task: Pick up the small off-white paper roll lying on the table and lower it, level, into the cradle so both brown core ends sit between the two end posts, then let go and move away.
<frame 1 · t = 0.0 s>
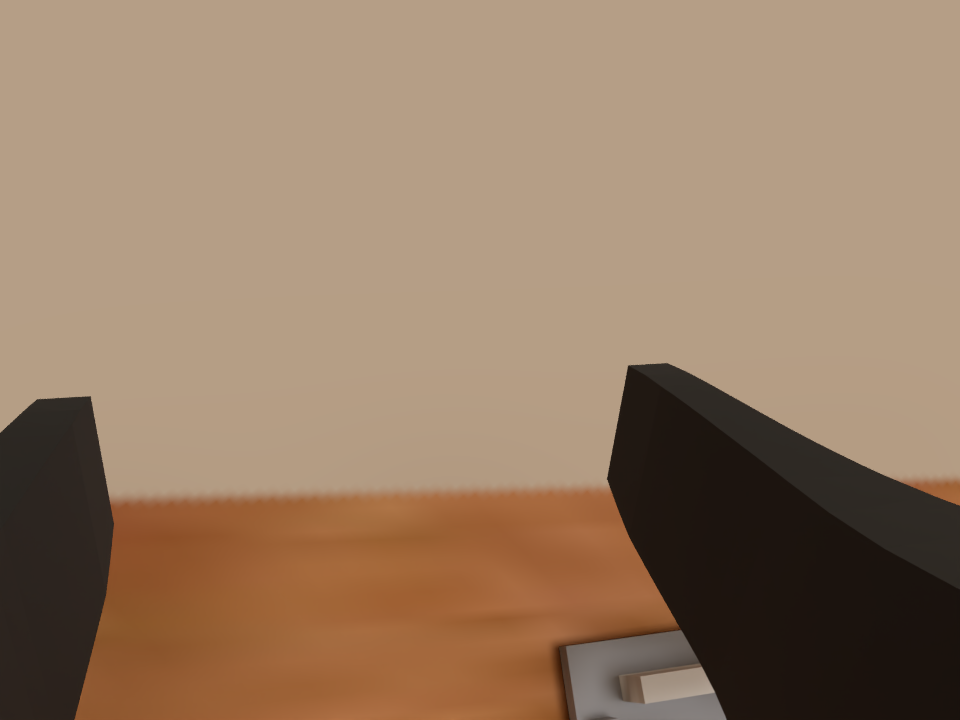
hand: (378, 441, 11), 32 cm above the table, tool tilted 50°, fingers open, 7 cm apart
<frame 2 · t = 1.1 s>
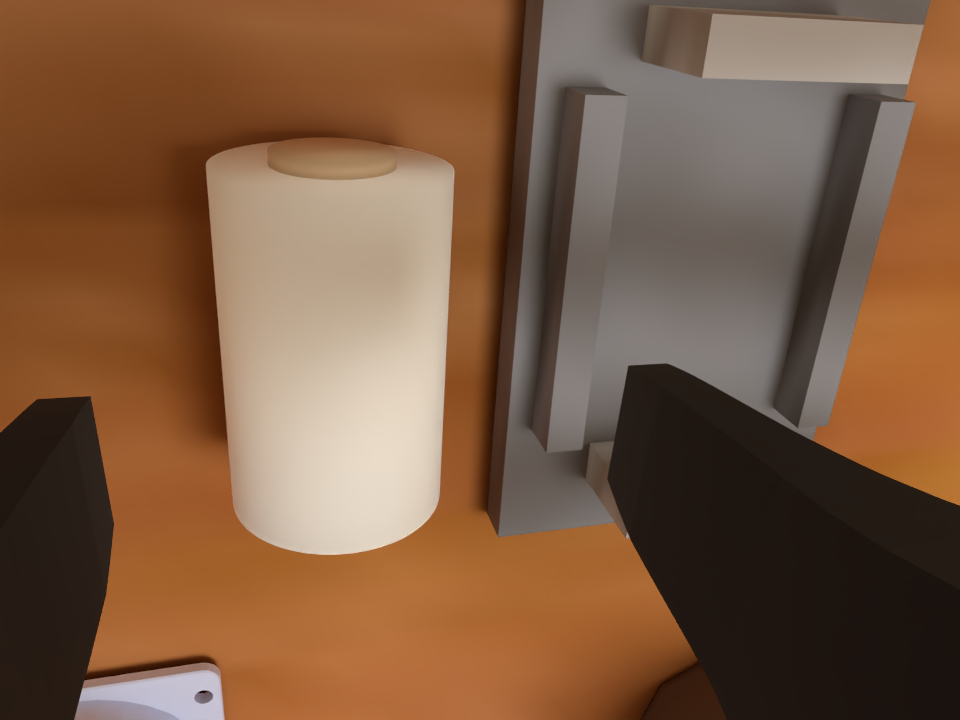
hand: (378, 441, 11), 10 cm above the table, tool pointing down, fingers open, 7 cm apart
beer bottle: (713, 712, 33), on the table
paper roll: (311, 302, 21), on the table, tilted 7°
roll cradle: (679, 253, 23), on the table
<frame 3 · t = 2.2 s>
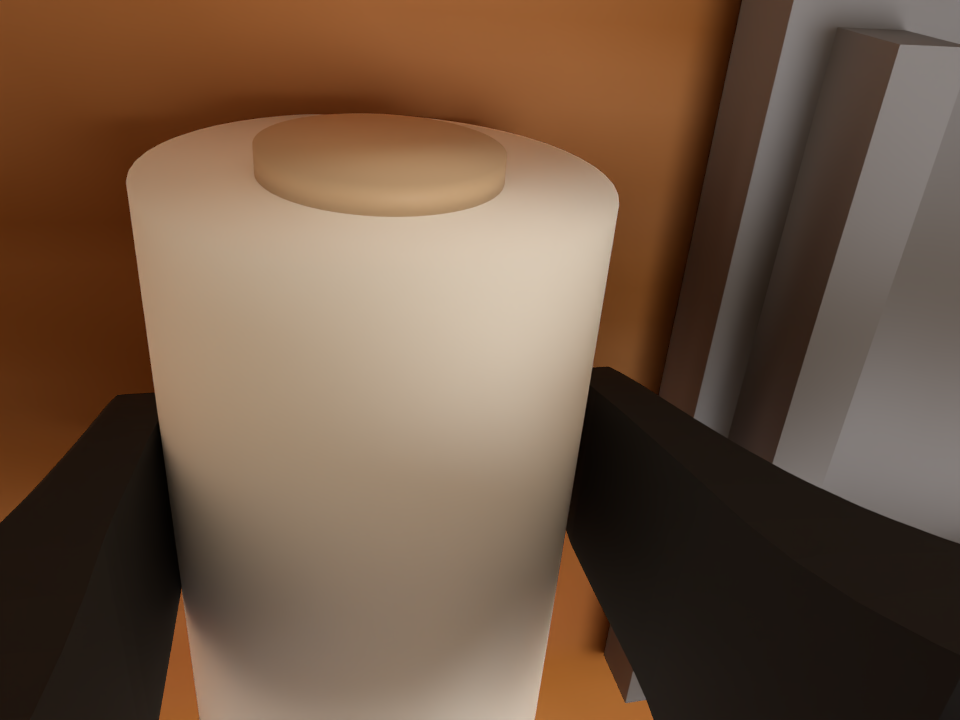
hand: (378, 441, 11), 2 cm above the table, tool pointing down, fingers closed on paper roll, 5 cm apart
paper roll: (359, 376, 13), on the table, touching gripper
roll cradle: (937, 299, 15), on the table
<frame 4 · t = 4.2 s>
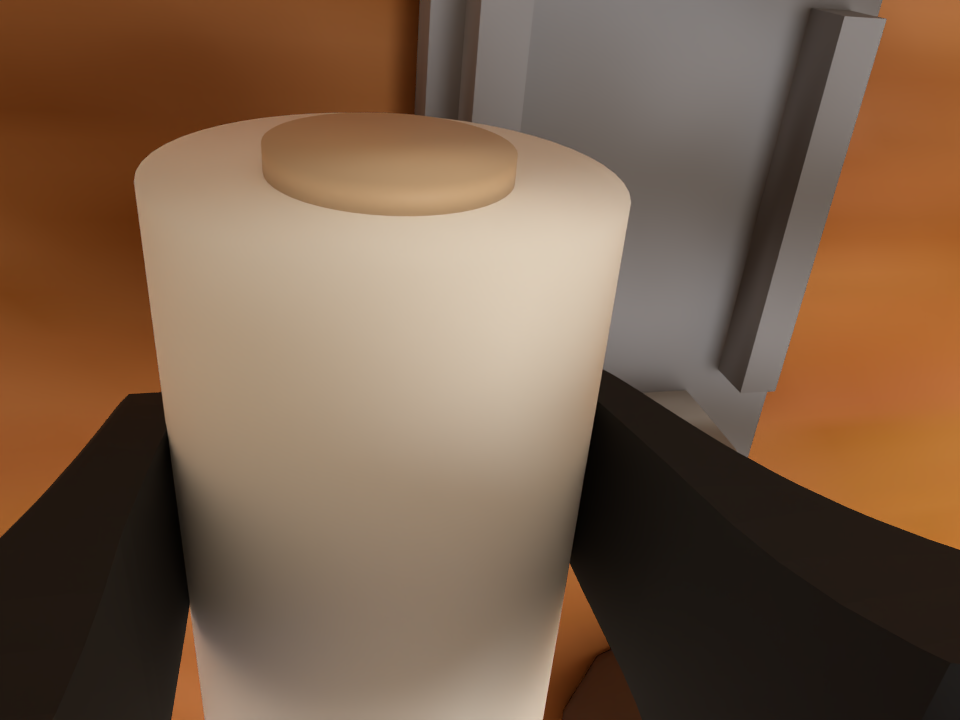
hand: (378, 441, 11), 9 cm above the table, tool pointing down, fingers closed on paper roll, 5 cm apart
beer bottle: (654, 686, 31), on the table
paper roll: (363, 377, 13), point 7 cm above the table, touching gripper
roll cradle: (614, 191, 20), on the table
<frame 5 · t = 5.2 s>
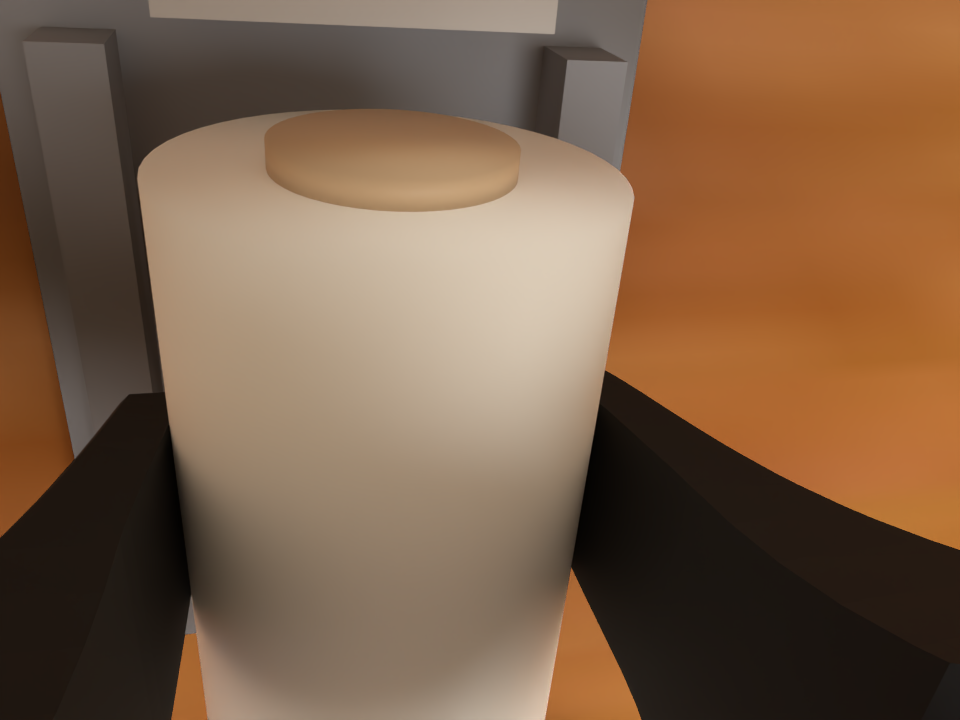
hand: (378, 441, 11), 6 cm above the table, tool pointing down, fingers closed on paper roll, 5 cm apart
paper roll: (363, 375, 13), point 4 cm above the table, touching gripper
roll cradle: (338, 272, 16), on the table
when the fingers open (4 cm above the table, at t = 6.0 s): paper roll drops 1 cm, resting on roll cradle.
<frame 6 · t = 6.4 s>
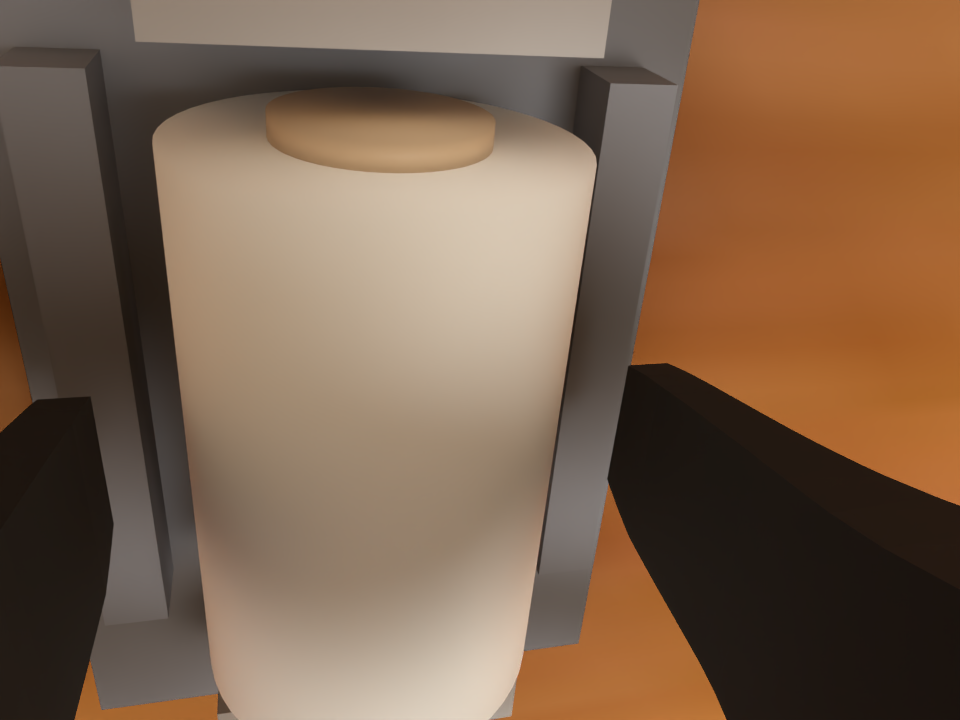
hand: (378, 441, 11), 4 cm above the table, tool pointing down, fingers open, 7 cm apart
paper roll: (355, 339, 14), point 1 cm above the table, touching roll cradle
roll cradle: (349, 310, 15), on the table
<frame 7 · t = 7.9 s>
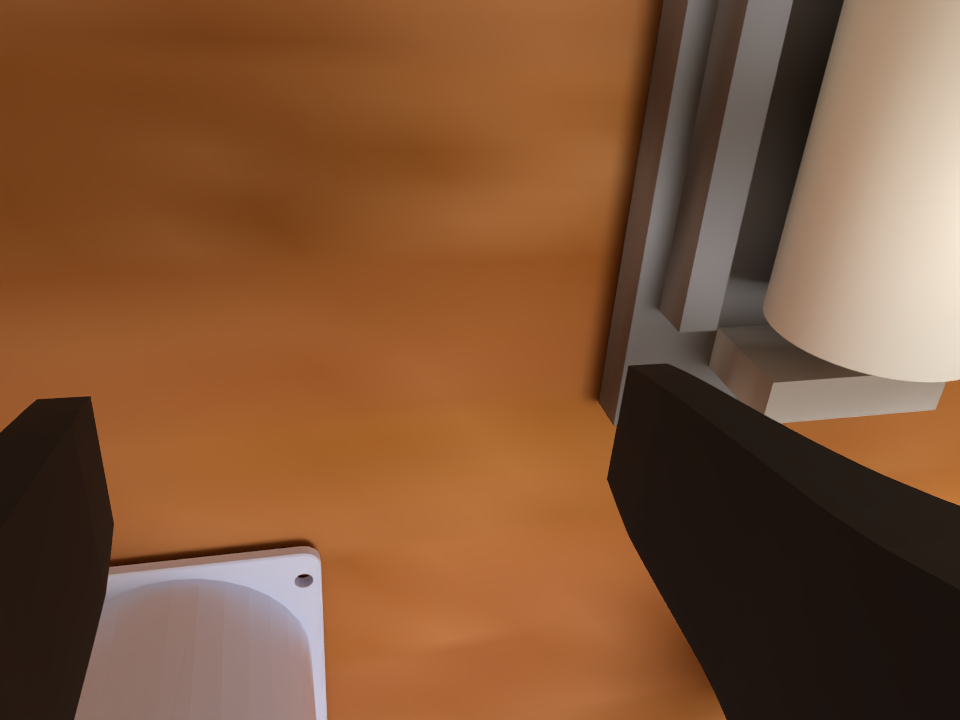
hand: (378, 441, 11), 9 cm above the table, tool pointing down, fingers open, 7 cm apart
paper roll: (855, 132, 20), point 1 cm above the table, touching roll cradle
roll cradle: (827, 122, 21), on the table
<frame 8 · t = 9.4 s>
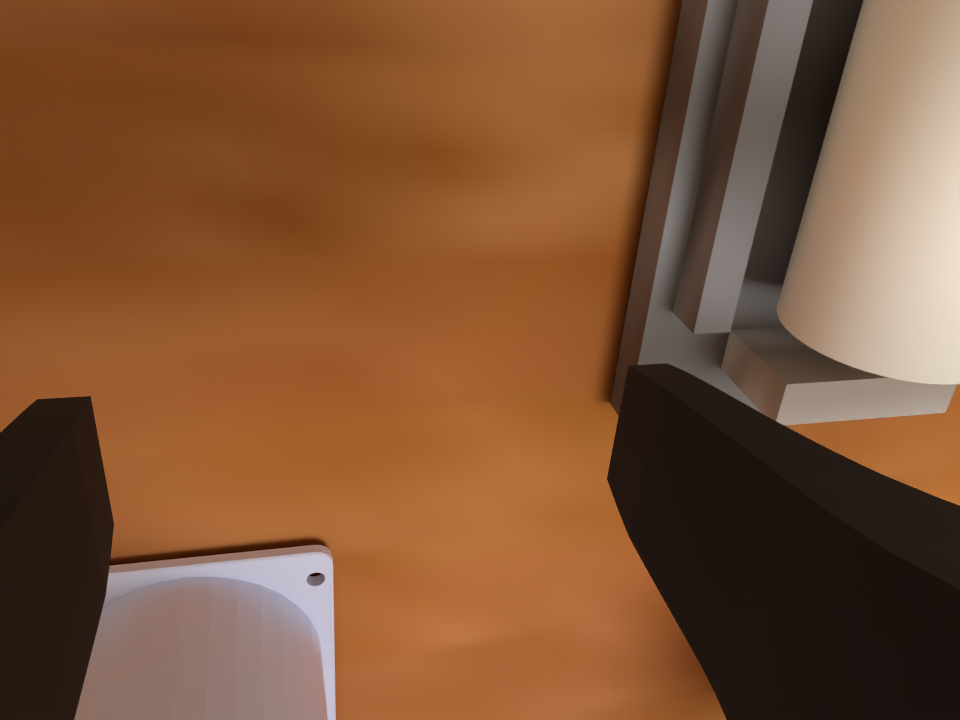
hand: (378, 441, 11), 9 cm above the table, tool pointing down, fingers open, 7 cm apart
paper roll: (869, 136, 20), point 1 cm above the table, touching roll cradle
roll cradle: (840, 127, 21), on the table
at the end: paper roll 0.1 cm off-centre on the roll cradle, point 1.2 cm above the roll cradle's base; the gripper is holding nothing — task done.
